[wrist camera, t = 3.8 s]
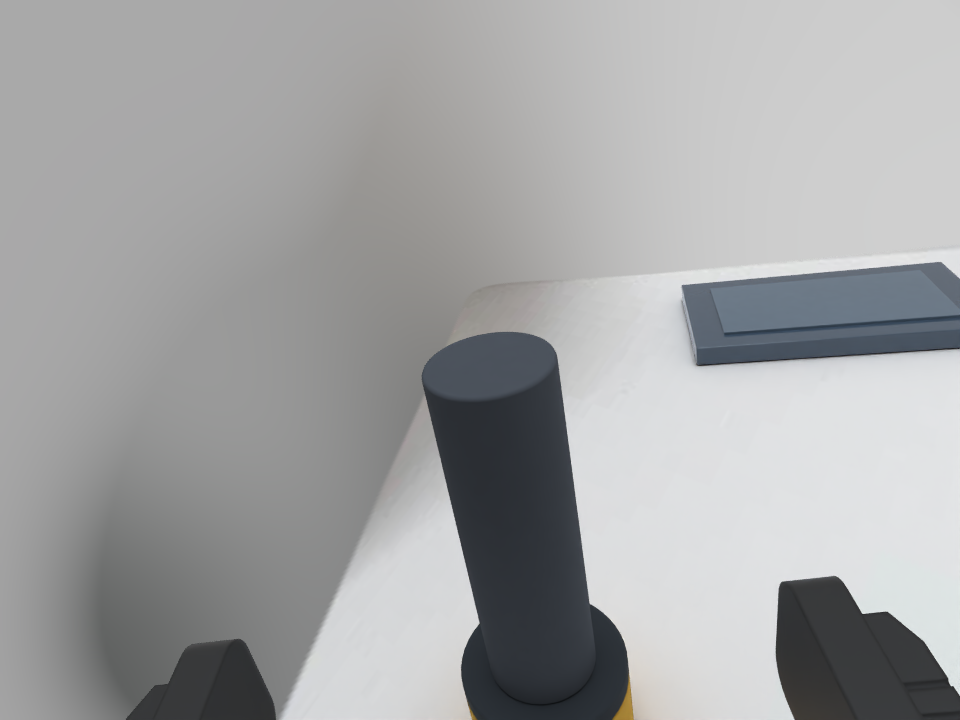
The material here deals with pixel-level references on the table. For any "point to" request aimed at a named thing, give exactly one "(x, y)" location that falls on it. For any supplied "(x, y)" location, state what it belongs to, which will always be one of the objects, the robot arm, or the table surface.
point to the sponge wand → (521, 536)
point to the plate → (824, 314)
